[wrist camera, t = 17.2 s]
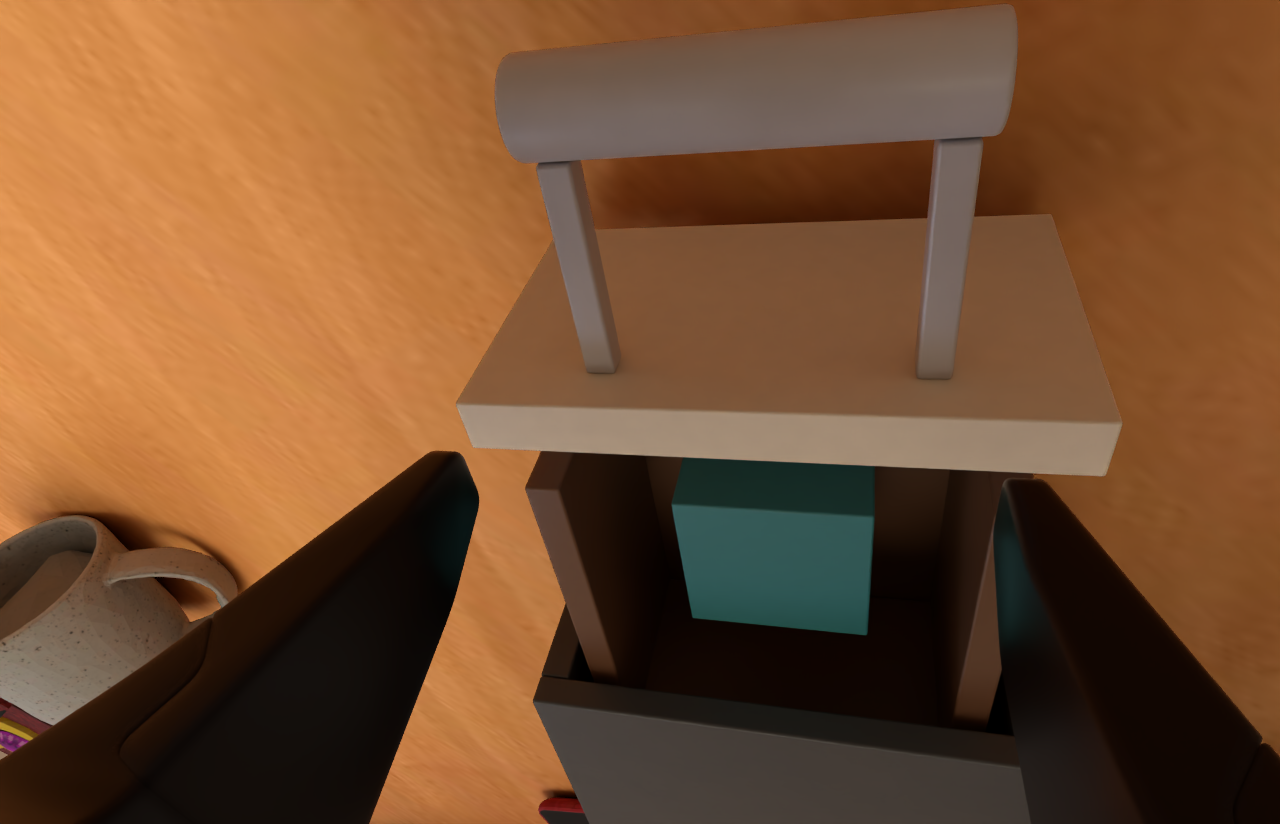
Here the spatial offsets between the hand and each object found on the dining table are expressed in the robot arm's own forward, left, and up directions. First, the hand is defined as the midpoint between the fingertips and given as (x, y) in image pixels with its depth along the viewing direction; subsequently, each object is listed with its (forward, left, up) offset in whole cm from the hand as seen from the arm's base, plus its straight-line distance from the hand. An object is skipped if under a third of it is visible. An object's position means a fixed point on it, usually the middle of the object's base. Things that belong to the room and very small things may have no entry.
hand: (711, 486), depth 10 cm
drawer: (0, +6, -10) cm, 12 cm away
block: (0, +8, -9) cm, 12 cm away
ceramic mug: (+32, +20, -11) cm, 39 cm away
